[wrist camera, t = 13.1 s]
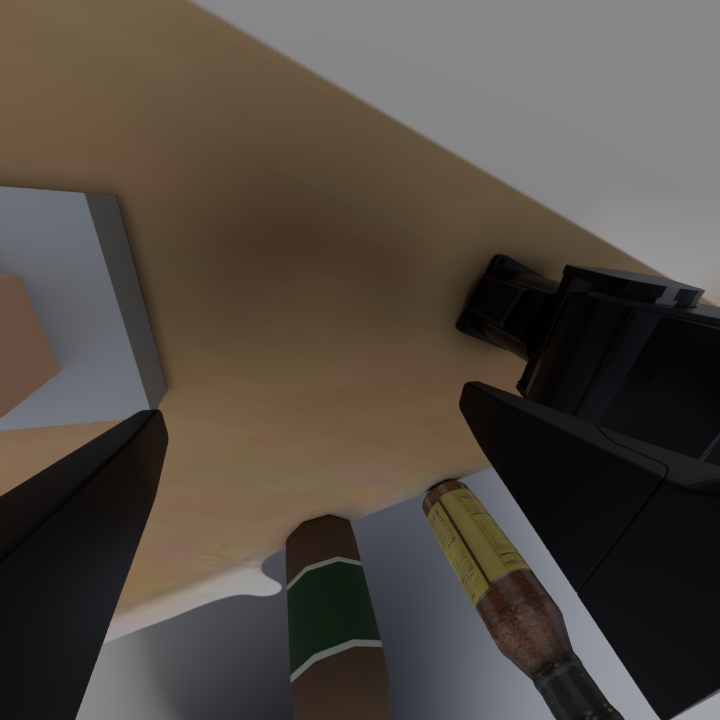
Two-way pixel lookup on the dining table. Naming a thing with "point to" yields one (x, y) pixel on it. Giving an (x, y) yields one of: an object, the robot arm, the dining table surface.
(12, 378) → the tan block
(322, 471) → the dining table surface
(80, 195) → the plate
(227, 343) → the dining table surface
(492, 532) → the sauce bottle
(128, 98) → the dining table surface
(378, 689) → the beer bottle
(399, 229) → the dining table surface
